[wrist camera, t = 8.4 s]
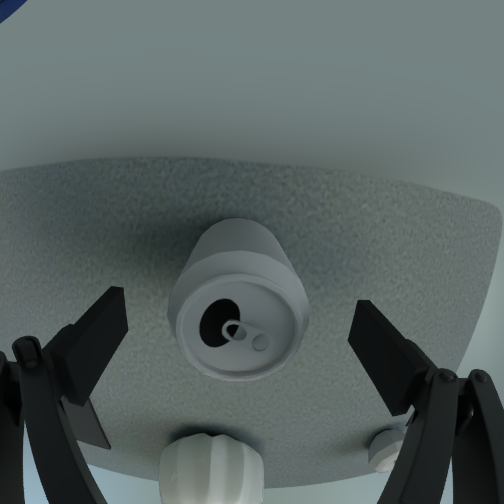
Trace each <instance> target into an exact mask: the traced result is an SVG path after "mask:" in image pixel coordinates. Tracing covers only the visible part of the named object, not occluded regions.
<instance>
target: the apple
mask: <svg viewBox="0 0 504 504" xmlns="http://www.w3.org/2000/svg"><path fill="white" fill-rule="evenodd" d="M405 435H406V434H405V433H403V432H402V431H399V430H397V429H390V430H385V431H383V432H381V433H380V434H378V435H377V436H376V437H375V438H374V440H373V441H372V443H371V445H370V448H369V452H368V464H369V465H370V466H371V467H372V468H373V469H374V470H375V471H377V472H378V473H385V472H389V471H392V470H393V467H394V465H395V462H396V460H397V457H398V455H399V452H400V449H401V446H402V444H403V441H404V438H405Z"/></svg>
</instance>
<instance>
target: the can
mask: <svg viewBox="0 0 504 504" xmlns="http://www.w3.org/2000/svg"><path fill="white" fill-rule="evenodd" d="M168 320H169V324H170V328H171V332H172V335H173V336H174V338H175V339H176V341H177V345H178V348H179V349H180V351H181V352H182V354H183V355H184V357H185V358H186V360H187V361H188V362H189V363H190V364H192V365H193V366H194V367H195V368H197V369H198V370H199V371H200V372H202V373H204V374H206V375H209V376H211V377H213V378H216V379H218V380H224V381H231V382H246V381H255V380H258V379H261V378H264V377H267V376H270V375H272V374H274V373H275V372H277V371H278V370H280V369H281V368H283V367H284V366H286V365H287V364H288V363H289V361H290V360H291V359H292V358H293V356H294V355H295V354H296V353H297V351H298V349H299V346H300V344H301V341H302V339H303V337H304V334H305V331H306V328H307V326H308V323H309V301H308V298H307V295H306V293H305V290H304V288H303V285H302V283H301V281H300V279H299V277H298V276H297V274H296V272H295V270H294V268H293V267H292V265H291V263H290V261H289V260H288V258H287V256H286V254H285V253H284V251H283V249H282V247H281V246H280V244H279V242H278V240H277V239H276V238H275V236H274V235H273V234H272V233H271V232H270V231H269V230H268V228H266V227H264V226H263V225H261V224H259V223H258V222H256V221H253V220H248V219H244V218H233V219H225V220H223V221H221V222H218V223H216V224H214V225H212V226H211V227H210V228H209V229H208V230H206V231H205V232H204V233H203V234H202V235H201V237H200V239H199V241H198V242H197V244H196V246H195V248H194V250H193V252H192V253H191V255H190V257H189V259H188V261H187V263H186V265H185V267H184V269H183V271H182V273H181V275H180V276H179V278H178V280H177V282H176V284H175V286H174V288H173V290H172V292H171V294H170V298H169V306H168Z"/></svg>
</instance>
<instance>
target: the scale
mask: <svg viewBox="0 0 504 504" xmlns="http://www.w3.org/2000/svg"><path fill="white" fill-rule="evenodd" d="M61 400H62V402H63V405H64V408H65V411H66V414H67V417H68V420H69V422H70V425H71V428H72V431H73V433H74V436H75V438H76V440H79V441H82V442H85V443H88V444H91V445H94V446H98V447H101V448H105V449H108V450H111V446H110V444H109V442H108V440H107V438H106V436H105V434H104V432H103V429H102V427H101V425H100V423H99V421H98V418H97V416H96V414H95V411H94V409H93V406H92V404H91V401H90V399H89V398H88V400H87V401H86V403H85V405H84V407H81V406H77V405H74V404H71V403H69V402H68V400H67V398H66V395H65V394H64V395H63V397H62V398H61Z"/></svg>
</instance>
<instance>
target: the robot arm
mask: <svg viewBox="0 0 504 504" xmlns="http://www.w3.org/2000/svg"><path fill="white" fill-rule="evenodd" d="M3 1H4V0H0V3H2V2H3ZM127 332H128V323H127V316H126V308H125V299H124V289H123V287H115V286H111V287H110V288H109V289H108V290H107V291H106V292H105V293H104V294H103V295H102V296H101V297H100V298H99V299H98V300H97V301H96V302H95V303H94V304H93V305H92V306H91V307H90V308H89V309H88V310H87V311H86V312H85V313H84V314H83V316H82V317H81V318H80V319H79V320H78V321H77V322H76V323H75V324H74V325H73V324H69V325H67V326H65V327H63V328H62V329H61V330H60V331H59V332H58V333H57V335H55V336H54V337H53V338H52V340H50V341H49V343H48V344H47V345H46V346H45V347H44V348H43V349H41V346H40V342H39V340H38V339H37V338H36V337H34V336H24V337H21V338H19V339H17V340H15V342H14V343H13V344H12V350H13V352H14V355H15V358H16V360H17V362H11V361H8V360H7V358H6V356H5V354H4V353H3V352H2V351H0V504H25V499H24V486H23V436H24V421H25V423H26V428H27V433H28V438H29V441H30V446H31V450H32V454H33V457H34V461H35V464H36V468H37V471H38V474H39V477H40V480H41V483H42V486H43V489H44V492H45V494H46V497H47V500H48V502H49V504H107V502H106V500H105V498H104V497H103V495H102V493H101V491H100V489H99V488H98V486H97V484H96V482H95V480H94V478H93V476H92V474H91V472H90V470H89V468H88V466H87V464H86V462H85V459H84V457H83V455H82V453H81V450H80V448H79V446H78V443H77V441H76V438H75V436H74V433H73V431H72V428H71V425H70V422H69V420H68V417H67V414H66V411H65V408H64V405H63V402H62V400H61V398H62V397H63V395H64V394H65V395H66V398H67V400H68V402H69V403H71V404H74V405H77V406H81V407H84V405H85V403H86V401H87V400H88V398H89V396H90V394H91V392H92V391H93V389H94V387H95V385H96V384H97V382H98V380H99V378H100V377H101V375H102V373H103V371H104V370H105V368H106V366H107V365H108V363H109V361H110V360H111V358H112V356H113V354H114V353H115V351H116V350H117V348H118V346H119V345H120V343H121V341H122V340H123V338H124V336H125V335H126V333H127ZM348 342H349V344H350V345H351V347H352V349H353V350H354V352H355V354H356V355H357V357H358V358H359V360H360V362H361V363H362V365H363V367H364V368H365V370H366V372H367V373H368V375H369V377H370V378H371V380H372V382H373V384H374V385H375V387H376V389H377V390H378V392H379V394H380V395H381V397H382V399H383V401H384V402H385V404H386V406H387V408H388V409H389V411H390V413H391V414H392V416H393V417H394V416H398V415H402V414H406V413H407V411H408V409H409V408H410V406H411V404H412V405H413V407H414V408H415V410H414V412H413V414H412V415H411V417H410V419H409V420H408V422H407V424H406V425H405V426H408V425H409V426H408V429H407V432H406V435H405V438H404V441H403V444H402V446H401V449H400V452H399V455H398V457H397V460H396V462H395V465H394V467H393V470H392V472H391V474H390V477H389V479H388V481H387V484H386V486H385V488H384V490H383V492H382V494H381V496H380V499H379V501H378V502H377V504H440V501H441V498H442V494H443V490H444V486H445V482H446V478H447V474H448V469H449V464H450V459H451V457H452V472H453V504H504V409H503V407H502V404H501V401H500V399H499V396H498V393H497V391H496V389H495V386H494V384H493V381H492V379H491V377H490V376H489V374H488V373H486V372H485V371H483V370H479V369H474V370H472V371H471V372H470V374H469V376H468V378H458V376H457V375H456V374H455V373H454V372H453V371H451V370H449V369H444V368H440V369H438V368H437V367H436V365H435V364H434V363H433V362H432V361H431V360H430V359H429V358H428V357H427V355H425V353H424V352H423V351H421V349H420V348H419V347H418V346H417V345H416V344H415V343H414V342H412V341H411V340H409V339H405V338H404V337H403V336H402V335H401V333H400V332H399V331H398V330H397V329H396V328H395V327H394V326H393V325H392V324H391V323H390V322H389V320H388V319H387V318H386V317H385V316H384V315H383V314H382V313H381V312H380V311H379V310H378V309H377V308H376V307H375V306H374V305H373V304H372V303H371V301H370V300H358V301H357V305H356V309H355V314H354V318H353V322H352V326H351V329H350V333H349V337H348ZM472 413H473V416H472Z"/></svg>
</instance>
